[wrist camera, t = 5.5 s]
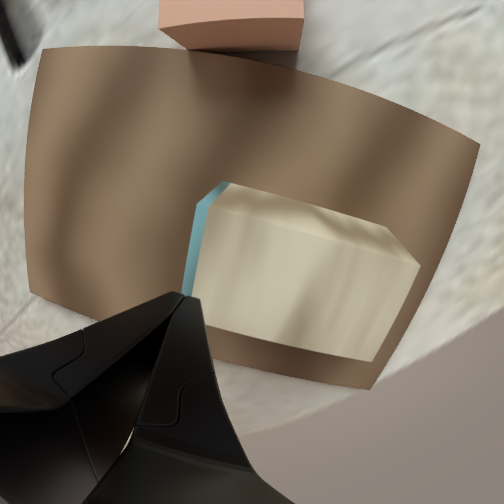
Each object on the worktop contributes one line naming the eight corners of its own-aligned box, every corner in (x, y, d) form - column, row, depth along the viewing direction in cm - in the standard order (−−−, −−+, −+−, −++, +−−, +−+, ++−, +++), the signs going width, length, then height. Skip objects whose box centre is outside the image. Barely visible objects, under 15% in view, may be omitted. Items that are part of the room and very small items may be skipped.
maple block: (222, 181, 14) (386, 227, 14) (204, 267, 16) (354, 306, 16) (196, 203, 10) (420, 265, 10) (177, 316, 12) (371, 361, 12)
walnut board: (468, 142, 13) (480, 144, 12) (366, 377, 19) (369, 390, 18) (54, 51, 13) (42, 49, 12) (39, 284, 19) (30, 292, 18)
